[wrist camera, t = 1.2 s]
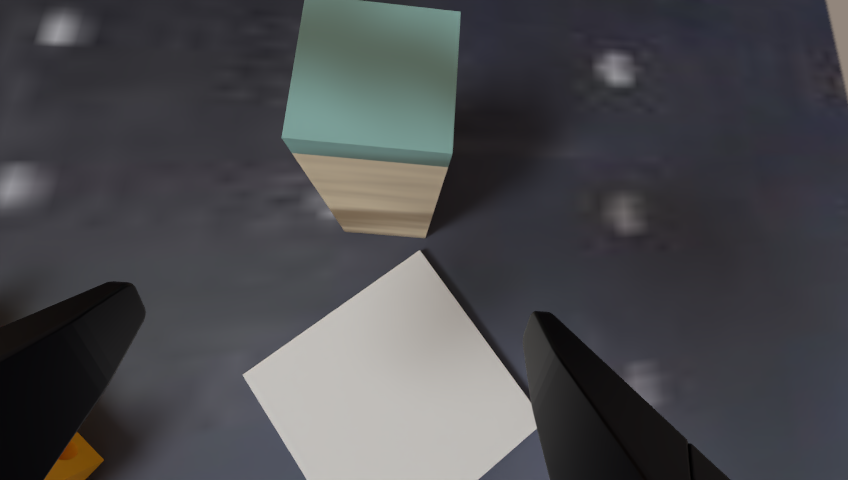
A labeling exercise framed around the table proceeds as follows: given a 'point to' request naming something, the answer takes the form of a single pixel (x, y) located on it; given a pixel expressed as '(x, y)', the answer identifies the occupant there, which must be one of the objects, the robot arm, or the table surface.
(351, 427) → the grey pad
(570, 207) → the table surface
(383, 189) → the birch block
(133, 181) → the table surface
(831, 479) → the table surface
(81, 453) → the pipe clamp
